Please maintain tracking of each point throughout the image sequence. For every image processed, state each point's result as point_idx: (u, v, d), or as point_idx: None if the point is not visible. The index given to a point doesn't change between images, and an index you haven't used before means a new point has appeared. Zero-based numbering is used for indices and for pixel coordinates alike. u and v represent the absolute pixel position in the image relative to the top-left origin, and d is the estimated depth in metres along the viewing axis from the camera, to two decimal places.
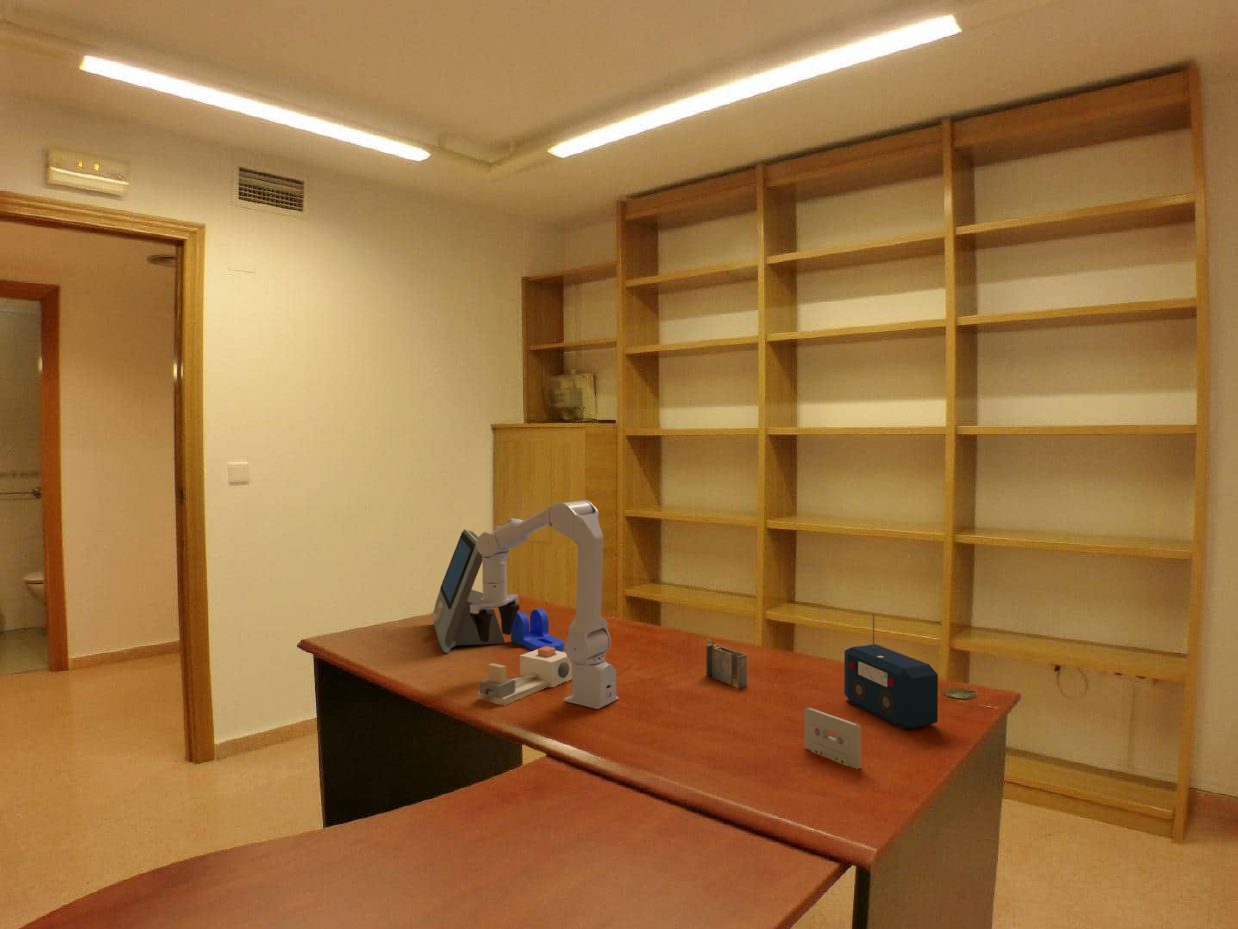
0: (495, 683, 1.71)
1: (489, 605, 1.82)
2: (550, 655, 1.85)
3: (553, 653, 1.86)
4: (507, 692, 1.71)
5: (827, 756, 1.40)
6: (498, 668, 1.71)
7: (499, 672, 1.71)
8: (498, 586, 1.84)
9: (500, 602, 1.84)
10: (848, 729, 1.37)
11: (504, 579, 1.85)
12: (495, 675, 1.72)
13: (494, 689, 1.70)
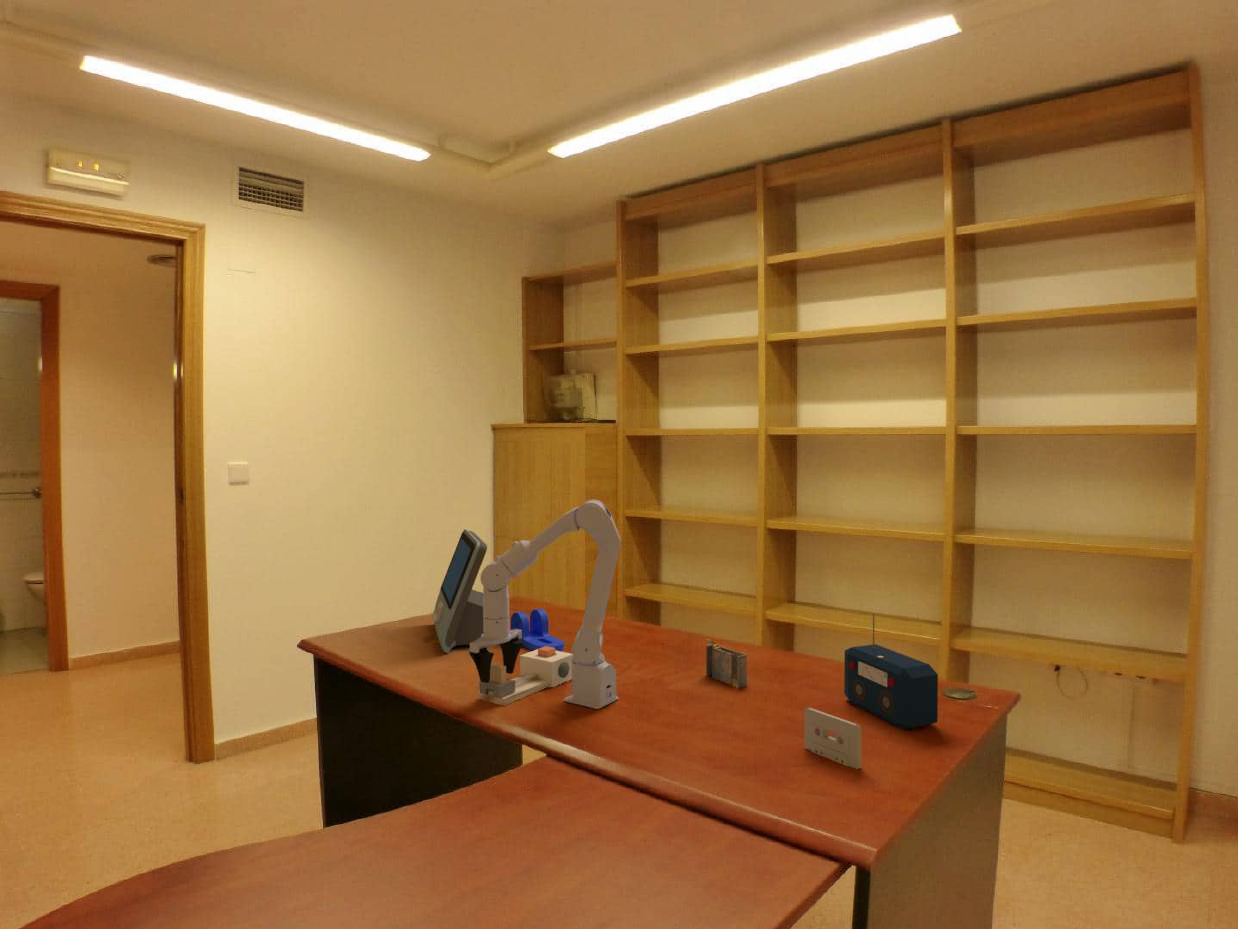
0: (495, 683, 1.71)
1: (490, 643, 1.68)
2: (550, 655, 1.85)
3: (553, 653, 1.86)
4: (507, 692, 1.71)
5: (827, 756, 1.40)
6: (498, 668, 1.71)
7: (499, 672, 1.71)
8: (500, 622, 1.69)
9: (502, 639, 1.70)
10: (848, 729, 1.37)
11: None
12: (495, 675, 1.72)
13: (494, 689, 1.70)
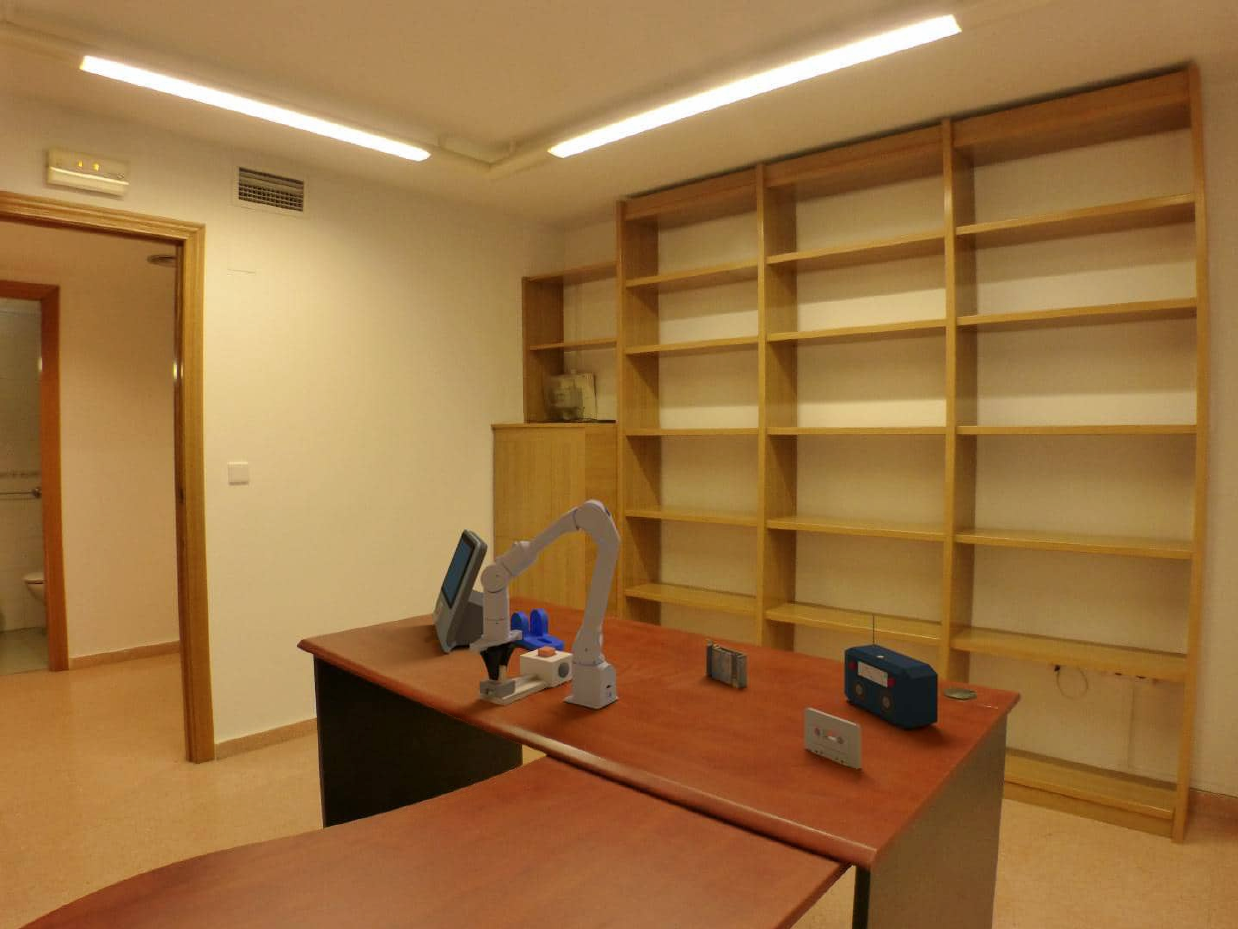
0: (495, 683, 1.71)
1: (490, 644, 1.68)
2: (550, 655, 1.85)
3: (553, 653, 1.86)
4: (507, 692, 1.71)
5: (827, 756, 1.40)
6: None
7: (499, 672, 1.71)
8: (500, 623, 1.69)
9: (502, 640, 1.70)
10: (848, 729, 1.37)
11: None
12: None
13: (494, 689, 1.70)
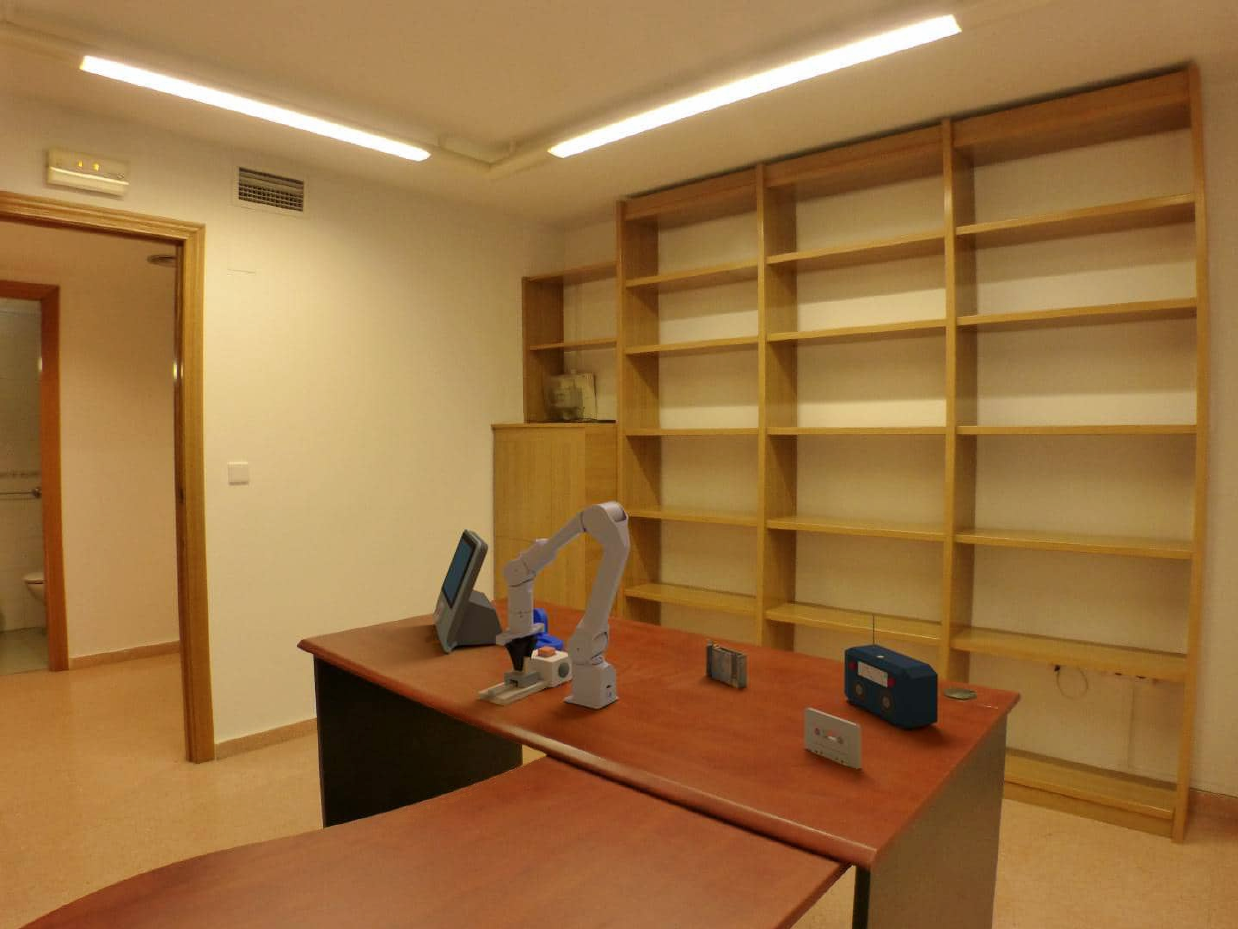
0: (519, 674, 1.77)
1: (515, 636, 1.74)
2: (550, 655, 1.85)
3: (553, 653, 1.86)
4: (531, 682, 1.77)
5: (827, 756, 1.40)
6: None
7: None
8: (525, 616, 1.76)
9: (527, 633, 1.76)
10: (848, 729, 1.37)
11: (532, 608, 1.78)
12: None
13: (519, 679, 1.76)
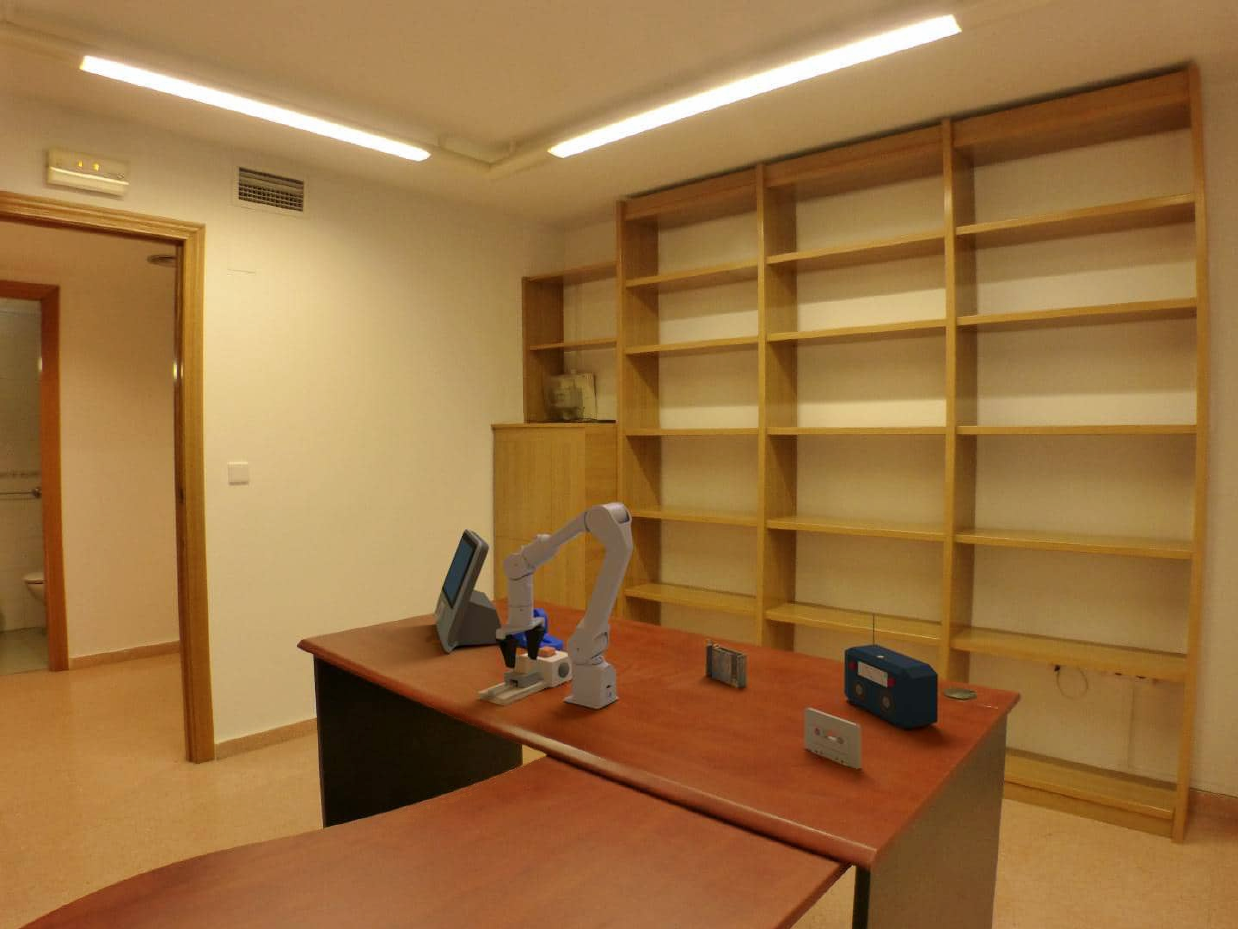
0: (520, 674, 1.77)
1: (515, 630, 1.74)
2: (550, 655, 1.85)
3: (553, 653, 1.86)
4: (531, 682, 1.77)
5: (827, 756, 1.40)
6: (522, 659, 1.78)
7: (523, 663, 1.77)
8: (525, 610, 1.76)
9: (527, 626, 1.76)
10: (848, 729, 1.37)
11: (532, 602, 1.78)
12: (519, 666, 1.78)
13: (519, 679, 1.76)
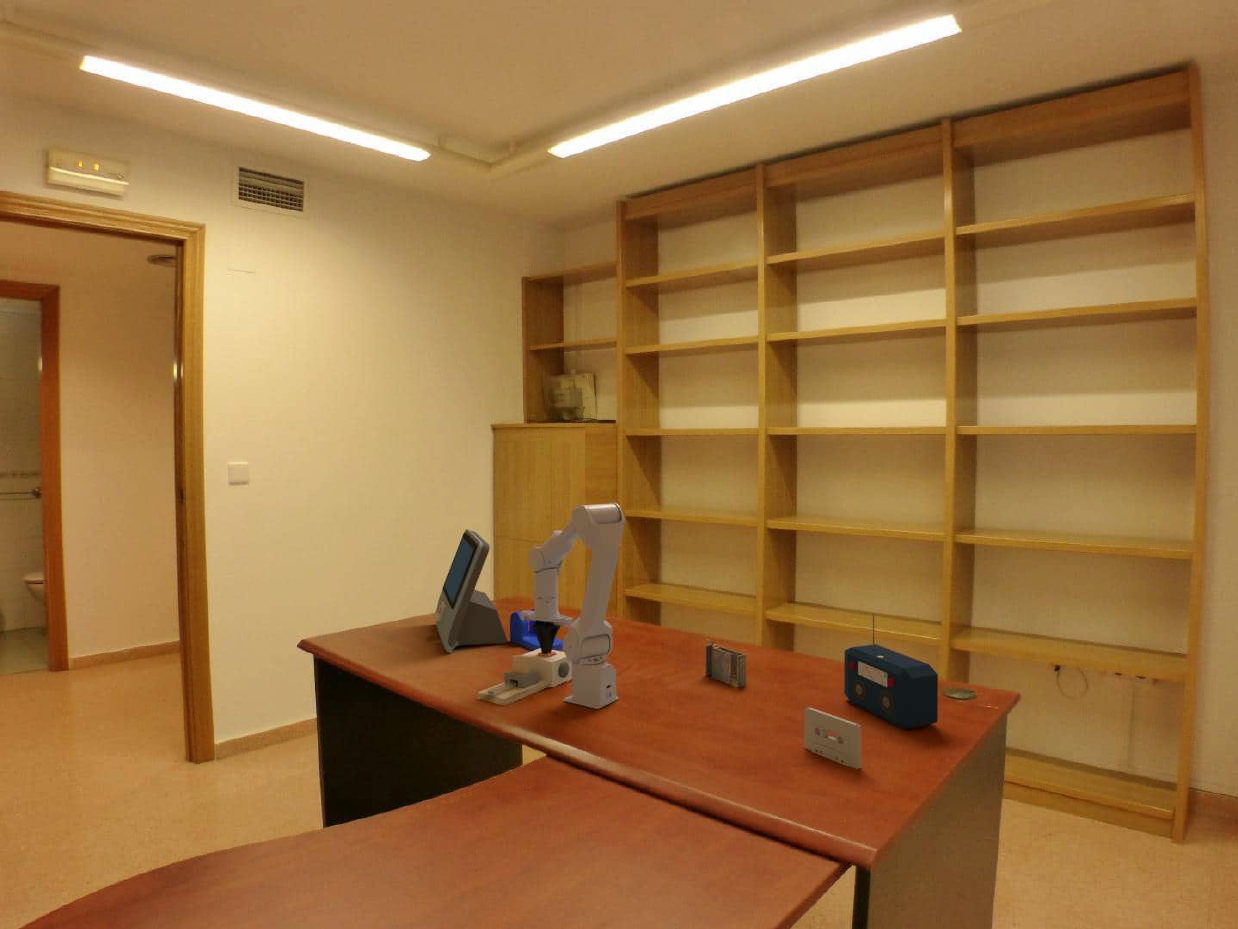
0: (520, 674, 1.77)
1: (529, 616, 1.87)
2: None
3: None
4: (531, 682, 1.77)
5: (827, 756, 1.40)
6: (522, 659, 1.78)
7: (523, 663, 1.77)
8: (534, 600, 1.84)
9: (535, 617, 1.84)
10: (848, 729, 1.37)
11: (553, 595, 1.84)
12: (519, 666, 1.78)
13: (519, 679, 1.76)
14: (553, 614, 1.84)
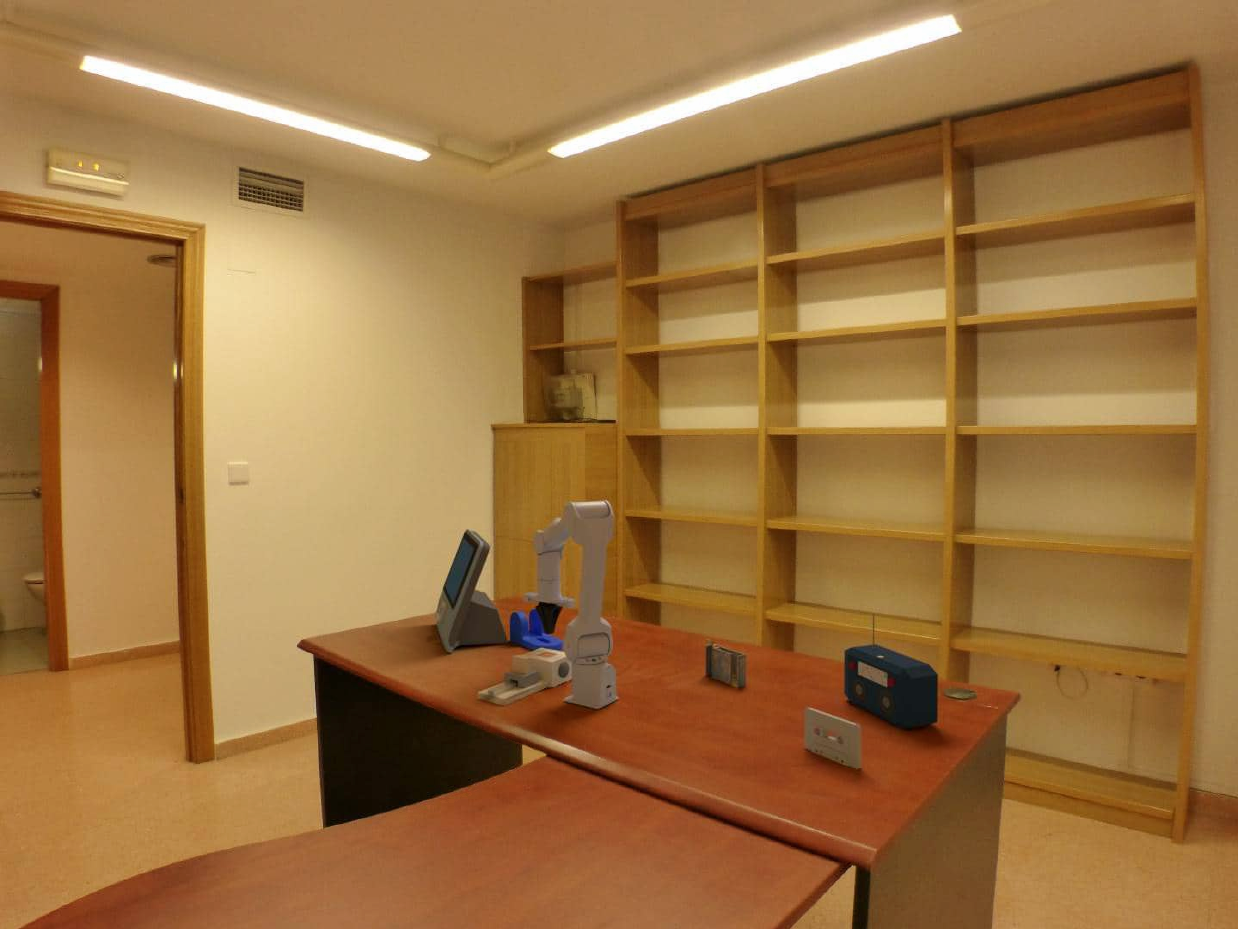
0: (520, 674, 1.77)
1: (532, 597, 1.92)
2: None
3: None
4: (531, 682, 1.77)
5: (827, 756, 1.40)
6: (522, 659, 1.78)
7: (523, 663, 1.77)
8: (538, 582, 1.90)
9: (538, 598, 1.90)
10: (848, 729, 1.37)
11: (554, 577, 1.89)
12: (519, 666, 1.78)
13: (519, 679, 1.76)
14: (556, 595, 1.90)
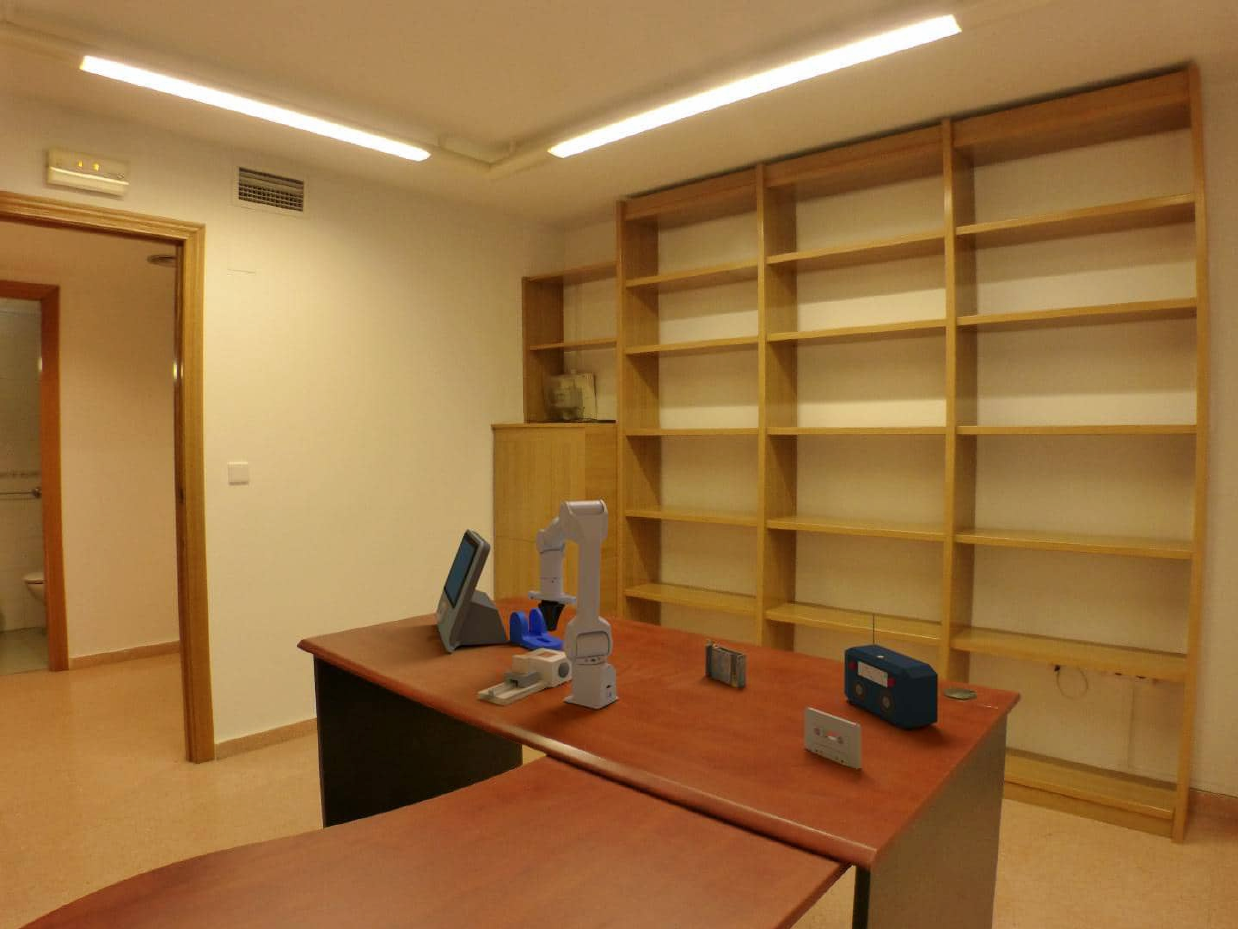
0: (520, 674, 1.77)
1: (535, 595, 1.96)
2: None
3: None
4: (531, 682, 1.77)
5: (827, 756, 1.40)
6: (522, 659, 1.78)
7: (523, 663, 1.77)
8: (540, 581, 1.94)
9: (541, 596, 1.94)
10: (848, 729, 1.37)
11: (556, 576, 1.93)
12: (519, 666, 1.78)
13: (519, 679, 1.76)
14: (558, 593, 1.93)
